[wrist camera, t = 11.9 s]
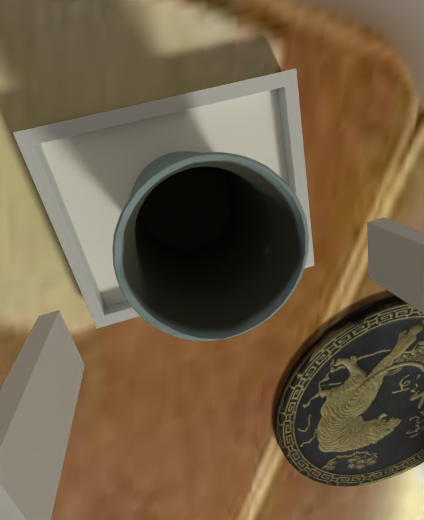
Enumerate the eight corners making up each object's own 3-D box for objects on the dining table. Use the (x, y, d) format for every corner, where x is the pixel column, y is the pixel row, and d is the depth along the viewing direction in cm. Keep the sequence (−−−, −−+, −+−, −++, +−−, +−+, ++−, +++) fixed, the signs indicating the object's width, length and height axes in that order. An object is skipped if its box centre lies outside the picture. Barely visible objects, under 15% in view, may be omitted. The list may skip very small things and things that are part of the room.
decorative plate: (537, 295, 39) (452, 474, 50) (520, 288, 41) (442, 462, 52) (302, 300, 33) (262, 503, 44) (294, 292, 35) (258, 488, 46)
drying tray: (100, 313, 31) (96, 328, 29) (24, 131, 24) (12, 132, 22) (302, 255, 33) (314, 265, 31) (282, 73, 26) (296, 68, 24)
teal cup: (111, 148, 25) (89, 167, 14) (241, 133, 26) (314, 139, 15) (136, 270, 29) (135, 360, 18) (249, 251, 30) (310, 323, 19)
